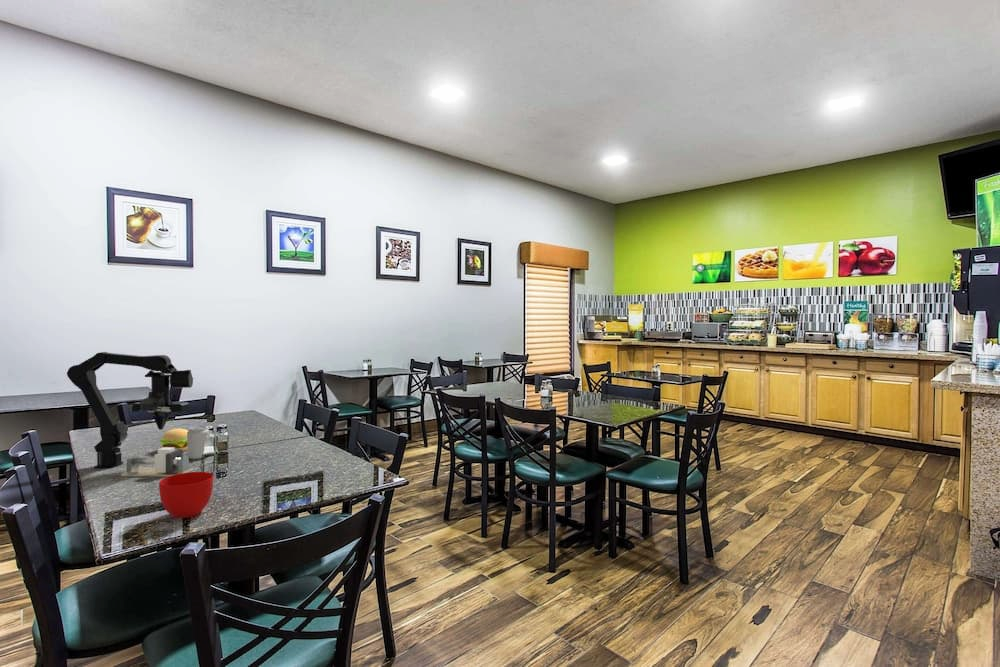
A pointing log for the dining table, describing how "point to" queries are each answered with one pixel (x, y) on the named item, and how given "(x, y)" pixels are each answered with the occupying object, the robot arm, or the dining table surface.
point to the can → (196, 441)
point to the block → (169, 460)
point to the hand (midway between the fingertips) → (160, 429)
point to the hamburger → (175, 439)
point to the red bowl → (186, 493)
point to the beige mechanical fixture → (150, 471)
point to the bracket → (162, 459)
